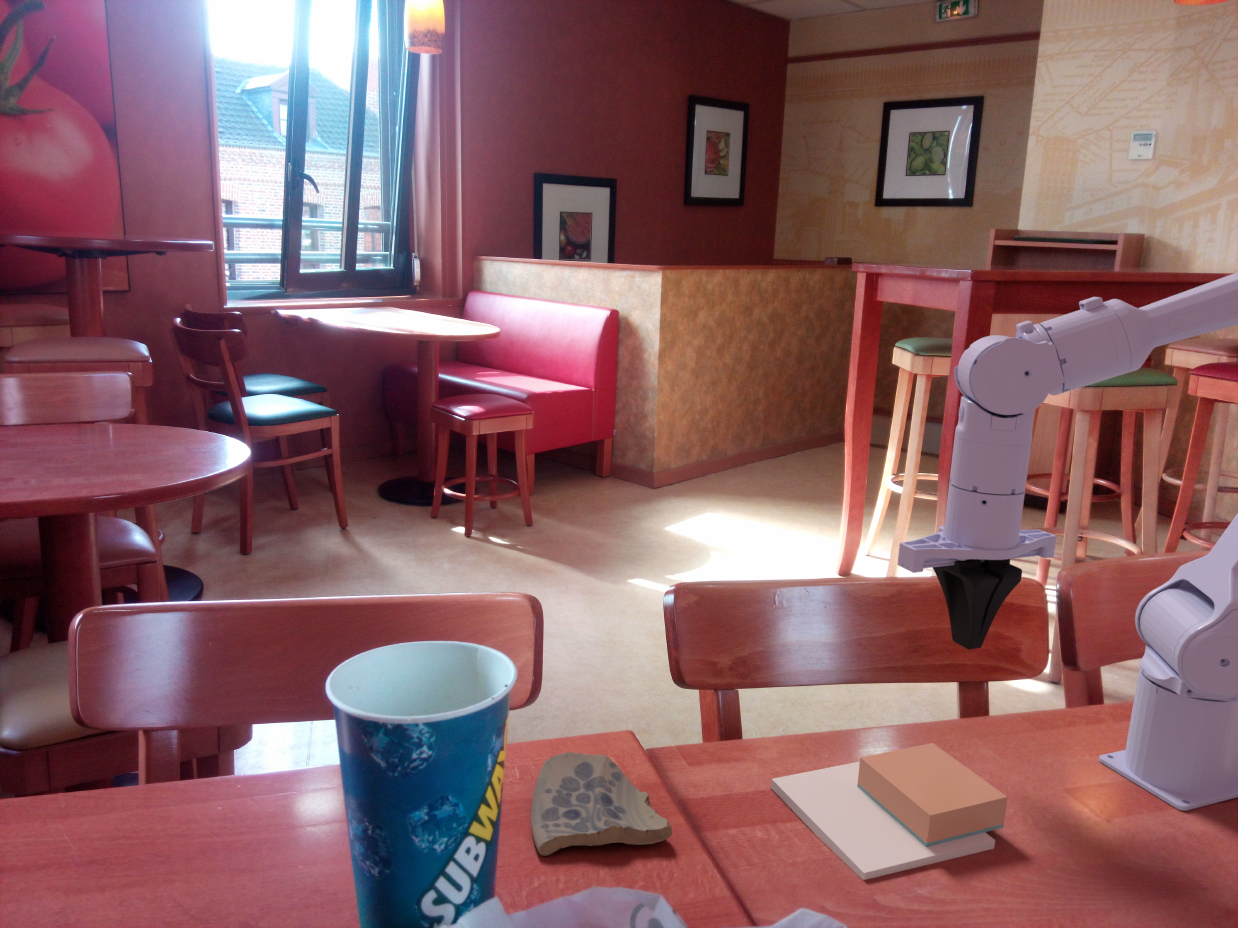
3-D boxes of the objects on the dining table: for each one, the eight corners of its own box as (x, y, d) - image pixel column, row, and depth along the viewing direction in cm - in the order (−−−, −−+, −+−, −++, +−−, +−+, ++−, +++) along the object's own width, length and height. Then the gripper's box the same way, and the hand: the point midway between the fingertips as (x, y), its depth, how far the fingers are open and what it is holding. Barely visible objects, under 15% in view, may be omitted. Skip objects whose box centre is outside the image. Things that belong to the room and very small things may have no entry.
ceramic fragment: (675, 842, 63) (531, 820, 62) (667, 880, 64) (524, 859, 63) (666, 753, 73) (542, 734, 73) (659, 787, 74) (536, 769, 74)
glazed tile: (932, 742, 74) (860, 757, 72) (1007, 796, 67) (930, 815, 64) (929, 770, 75) (857, 786, 72) (1003, 827, 67) (926, 846, 65)
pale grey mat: (888, 764, 77) (889, 755, 77) (993, 849, 66) (995, 839, 66) (770, 787, 73) (771, 778, 73) (862, 883, 62) (863, 872, 62)
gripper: (1018, 470, 81) (998, 616, 83) (881, 479, 75) (865, 635, 78) (1085, 490, 74) (1061, 647, 77) (940, 501, 69) (920, 670, 72)
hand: (966, 644), depth 77 cm, fingers closed
